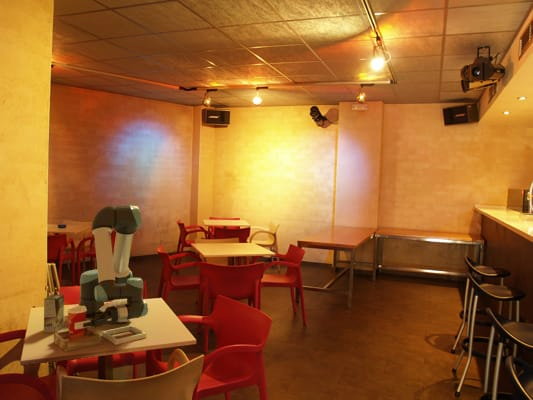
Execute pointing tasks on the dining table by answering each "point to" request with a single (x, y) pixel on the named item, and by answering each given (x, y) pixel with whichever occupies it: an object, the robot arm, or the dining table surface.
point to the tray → (126, 339)
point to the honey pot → (114, 303)
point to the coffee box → (53, 313)
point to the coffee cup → (76, 316)
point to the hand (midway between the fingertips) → (69, 322)
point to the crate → (67, 345)
